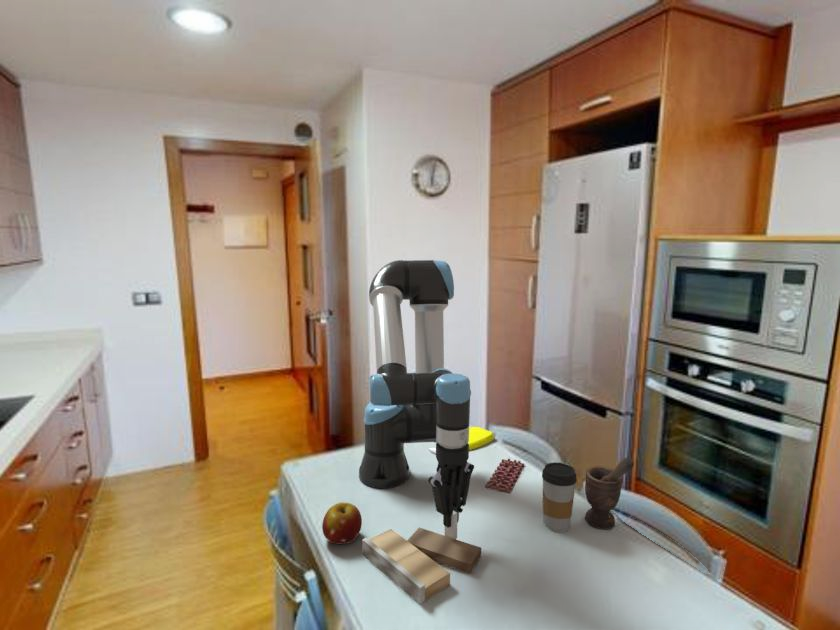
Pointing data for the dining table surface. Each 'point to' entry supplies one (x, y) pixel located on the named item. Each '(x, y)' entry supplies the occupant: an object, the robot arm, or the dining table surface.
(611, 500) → the mortar and pestle
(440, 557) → the walnut plank
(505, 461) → the chocolate bar
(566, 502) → the coffee cup
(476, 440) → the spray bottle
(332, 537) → the fruit
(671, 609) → the dining table surface
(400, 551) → the plank row
